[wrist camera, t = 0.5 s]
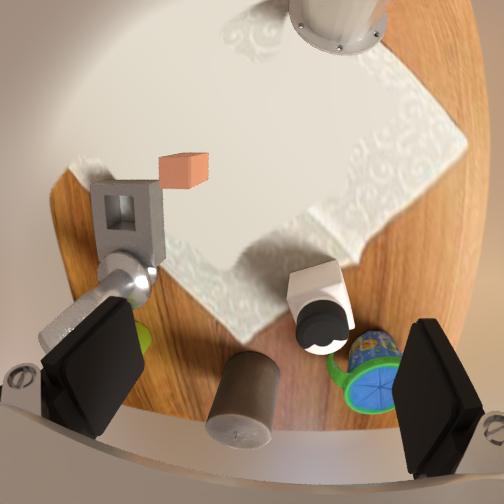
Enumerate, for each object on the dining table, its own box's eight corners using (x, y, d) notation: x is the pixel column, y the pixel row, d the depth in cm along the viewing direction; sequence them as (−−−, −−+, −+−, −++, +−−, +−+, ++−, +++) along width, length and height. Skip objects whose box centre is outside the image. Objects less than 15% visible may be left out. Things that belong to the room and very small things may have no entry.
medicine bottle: (288, 272, 44) (281, 320, 33) (337, 258, 42) (347, 302, 31) (303, 314, 46) (301, 367, 35) (349, 301, 44) (360, 353, 33)
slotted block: (105, 180, 43) (-7, 221, 23) (162, 179, 42) (53, 225, 21) (117, 288, 50) (37, 365, 30) (169, 296, 48) (97, 390, 28)
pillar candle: (223, 348, 50) (197, 415, 37) (282, 353, 49) (270, 425, 35) (228, 387, 54) (206, 451, 40) (280, 392, 52) (269, 460, 39)
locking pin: (183, 152, 40) (158, 157, 33) (208, 152, 39) (188, 157, 32) (183, 178, 41) (159, 188, 34) (208, 179, 41) (188, 189, 34)
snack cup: (314, 356, 48) (314, 401, 39) (344, 306, 44) (352, 348, 35) (391, 379, 48) (401, 422, 38) (425, 335, 44) (443, 376, 34)
